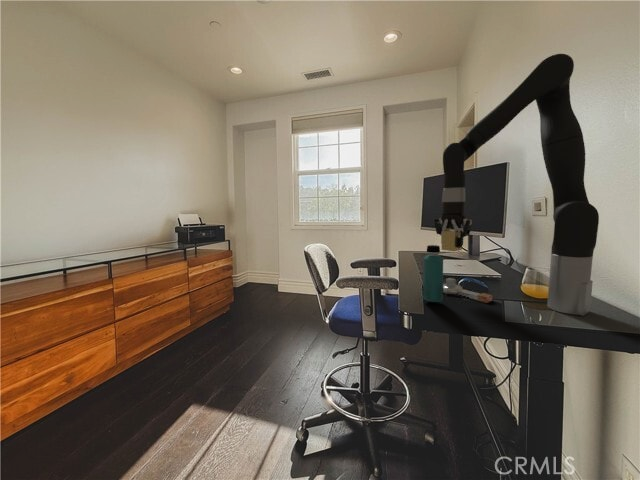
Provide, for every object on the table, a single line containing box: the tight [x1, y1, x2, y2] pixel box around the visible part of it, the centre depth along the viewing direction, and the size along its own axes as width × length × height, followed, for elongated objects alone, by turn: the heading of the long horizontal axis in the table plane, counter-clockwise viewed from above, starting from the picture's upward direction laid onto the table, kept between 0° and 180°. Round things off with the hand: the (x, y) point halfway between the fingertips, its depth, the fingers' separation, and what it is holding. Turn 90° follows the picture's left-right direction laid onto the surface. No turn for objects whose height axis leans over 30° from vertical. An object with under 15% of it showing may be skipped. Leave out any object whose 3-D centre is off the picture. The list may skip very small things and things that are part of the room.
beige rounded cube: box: [440, 229, 463, 252], centre depth 100 cm, size 5×5×7 cm
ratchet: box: [443, 277, 493, 304], centre depth 99 cm, size 18×8×5 cm, turn 33°
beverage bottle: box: [422, 244, 445, 303], centre depth 91 cm, size 6×7×20 cm
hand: (451, 246), depth 101 cm, fingers closed on beige rounded cube, 5 cm apart
